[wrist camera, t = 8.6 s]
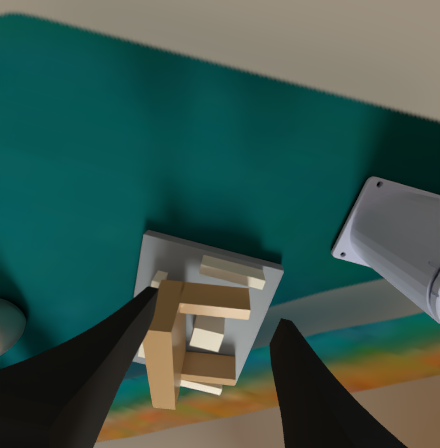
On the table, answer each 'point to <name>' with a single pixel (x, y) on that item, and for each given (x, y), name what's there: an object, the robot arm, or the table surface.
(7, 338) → the plastic bottle
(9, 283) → the table surface
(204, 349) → the stand
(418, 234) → the robot arm
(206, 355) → the wooden c-shaped bracket
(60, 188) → the table surface
